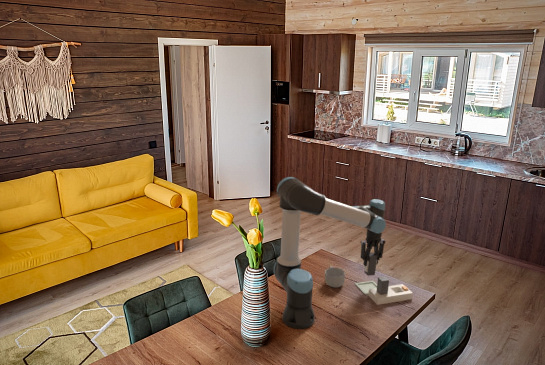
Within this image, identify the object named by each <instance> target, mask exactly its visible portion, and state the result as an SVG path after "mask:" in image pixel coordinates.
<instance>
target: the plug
mask: <svg viewBox="0 0 545 365" xmlns="http://www.w3.org/2000/svg"><path fill="white" fill-rule="evenodd" d="M368 260H369V265H368V272H366V271H365V270H364V269H363V273H365V274H366V276H368V277H369V276H375V275H376V271H375V269H376V270H377V265H376V261H377V255H375V254H374V252H370V254H369V258H368Z"/></svg>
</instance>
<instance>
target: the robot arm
mask: <svg viewBox="0 0 545 365" xmlns="http://www.w3.org/2000/svg"><path fill="white" fill-rule="evenodd" d="M276 194H277V196H278V197H279V208H280V209H281V210H282V214H281V215H282V216H281V217H282V218H281V235H280V236H281V239H280V240H281V242H280V256H278V257H277V260H276V262H275V263H274V265H273V275H274V276H275V279H276V280H277V282H279V284H280V285H281V287H282V288H283V290H285V292H286V305H285V307H284V309H283V311H282V322H283V324H285V325H286V326H287V327H289V328H292V329H296V330H298V329H299V330H300V329H301V330H303V329H307V328H310V327H312V326H313V325H314V323H315V321H316V320H315V319H316V316H315V312H314V308H313V305H312V304H313V291H314V290H313V288H314V279H313V275H312V273H310V272H309V271H307V269H306V270H305V269H302V260H301V258H300V257H299V252H300V251H299V249H300V247H299V246H300V236H301V234H300V233H301V232H300V231H301V219H302V218H301V217H302V216H301V215H302V212H303V213H307V214H310V215H315V216H320V215H322V216H325V217H328V218H331V219H334V220H339V221H340V222H341V221H342V222H345V223H347V224H348V223H349V224H352V225H354V226H357V227H362V228H363V229H366V238H365V240H360V245H361V246H360V259H361V260H363V263H362V264H363V271H364V270H365V271H366V272H368V265H369V260H368V258H369V254H370V253H371V251H372V249H373V251H374V252H373V253H374V254H375V255H377V261H376V266H377V265H378V264H379V261H380V259H382V258H383V254H384V247H385V244H386V243H387V241H386V240H385V239H383V238H382V233H383V232H384V231H385V229H386V227H387V222H386V219H385V211H386V210H385V209H386V203H385V201H384V200H381V199H378V198H377V199H375V198H374V199H373V198H372V199H371V200H370V201H369V204H364V205H363V204H362V205H353V206H350V205H348V204H345V203H342V202H339V201H336V200H333V199H329V198H327V197H326V196H325V194H323V193H319V192H317V191H316V190H314V189H312V188H311V187H310V186H308V185H307V184H305V182H304V183H303V182H302V181H301V180H300V179H298V178H296V177H293V176H287V177H284V178H283V179H281V180H280V181H279V182H278V184H277V187H276ZM375 272H377V268H376V269H375Z"/></svg>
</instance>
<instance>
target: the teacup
mask: <svg viewBox="0 0 545 365" xmlns="http://www.w3.org/2000/svg"><path fill="white" fill-rule="evenodd" d="M345 278H346V272H345V270H344V269H343V268H340V267H333V265H329V267H328V268H326V269H325V270H324V281H325V283H326V285H328V287H331V288H333V289H334V288H336V289H337V288H340V287H342V286H343V285H344V284H345Z"/></svg>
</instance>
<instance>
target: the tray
mask: <svg viewBox="0 0 545 365" xmlns="http://www.w3.org/2000/svg"><path fill="white" fill-rule="evenodd" d="M354 285H355V286H356V287H357V289H359V291H361V292H362V293H363V295H365V296H367V295H368V294H369V289H374V288H377V283H376V282H375V280H368V281H361V282H355V283H354Z"/></svg>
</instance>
